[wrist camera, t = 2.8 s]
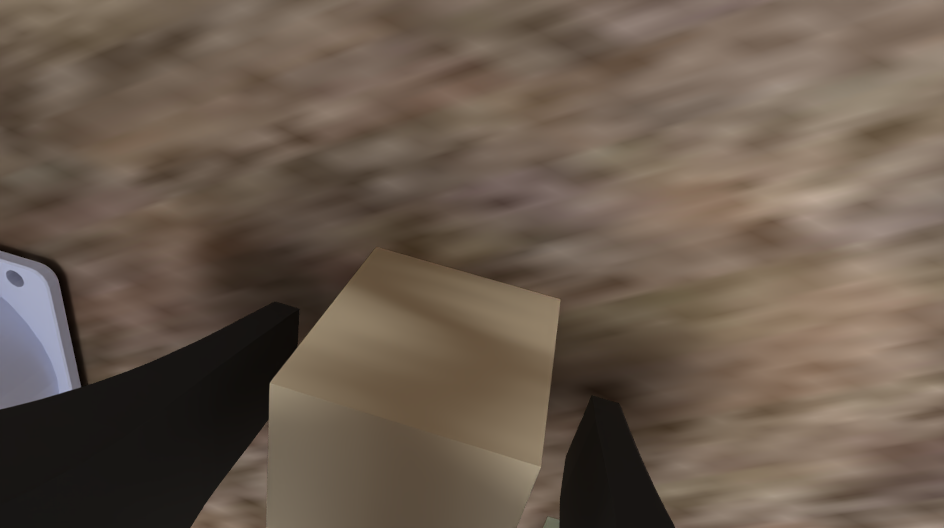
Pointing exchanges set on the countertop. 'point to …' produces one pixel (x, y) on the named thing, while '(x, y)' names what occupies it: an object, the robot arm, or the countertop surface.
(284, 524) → the maple block
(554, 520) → the sage base block
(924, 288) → the countertop surface
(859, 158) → the countertop surface
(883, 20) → the countertop surface
